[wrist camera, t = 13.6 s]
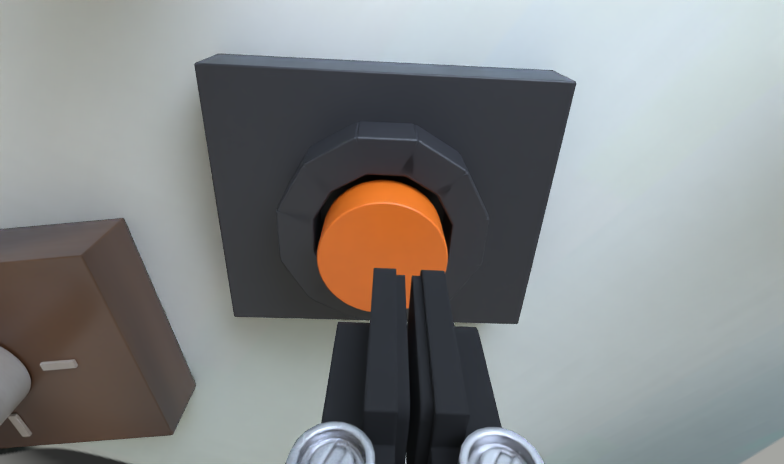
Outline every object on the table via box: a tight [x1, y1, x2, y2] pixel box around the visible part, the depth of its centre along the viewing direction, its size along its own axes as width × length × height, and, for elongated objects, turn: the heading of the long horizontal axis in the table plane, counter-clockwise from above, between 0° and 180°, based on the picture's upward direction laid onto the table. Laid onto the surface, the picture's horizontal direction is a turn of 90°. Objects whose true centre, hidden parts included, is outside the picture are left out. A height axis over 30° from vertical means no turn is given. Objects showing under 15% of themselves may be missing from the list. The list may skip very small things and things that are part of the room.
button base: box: [195, 54, 576, 324], centre depth 16 cm, size 12×10×4 cm
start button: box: [317, 180, 448, 312], centre depth 14 cm, size 4×4×2 cm
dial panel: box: [0, 218, 196, 448], centre depth 20 cm, size 13×10×3 cm
